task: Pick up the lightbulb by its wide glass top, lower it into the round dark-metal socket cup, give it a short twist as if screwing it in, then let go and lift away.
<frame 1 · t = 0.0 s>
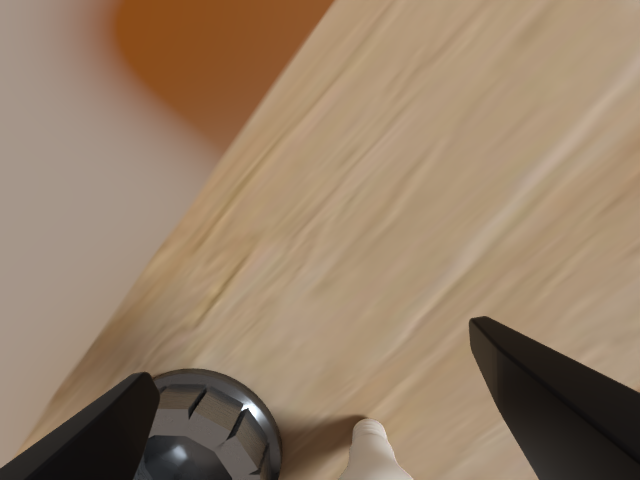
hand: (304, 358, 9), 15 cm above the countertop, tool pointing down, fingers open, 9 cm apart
lightbulb: (367, 424, 26), on the countertop
socket: (199, 447, 27), on the countertop
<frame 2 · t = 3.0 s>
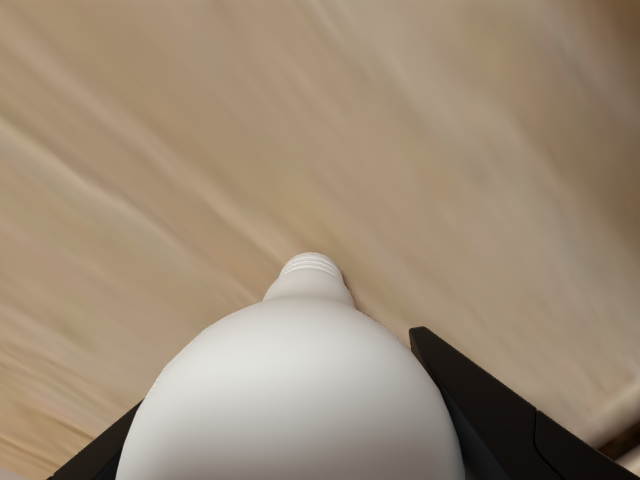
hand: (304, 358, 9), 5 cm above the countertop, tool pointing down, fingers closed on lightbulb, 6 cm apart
lightbulb: (312, 269, 14), on the countertop, touching gripper
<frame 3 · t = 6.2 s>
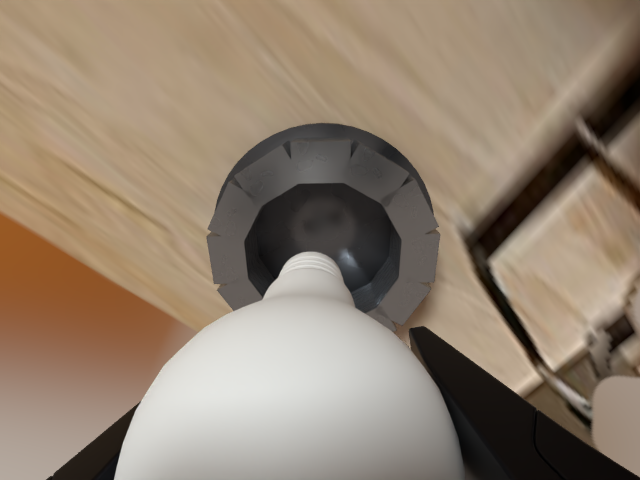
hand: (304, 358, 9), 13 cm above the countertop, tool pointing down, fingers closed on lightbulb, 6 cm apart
lightbulb: (312, 268, 14), point 8 cm above the countertop, touching gripper
socket: (323, 234, 21), on the countertop
when the fingers open (7 cm above the countertop, at t = 9.3 s): lightbulb stays where it is, resting on socket.
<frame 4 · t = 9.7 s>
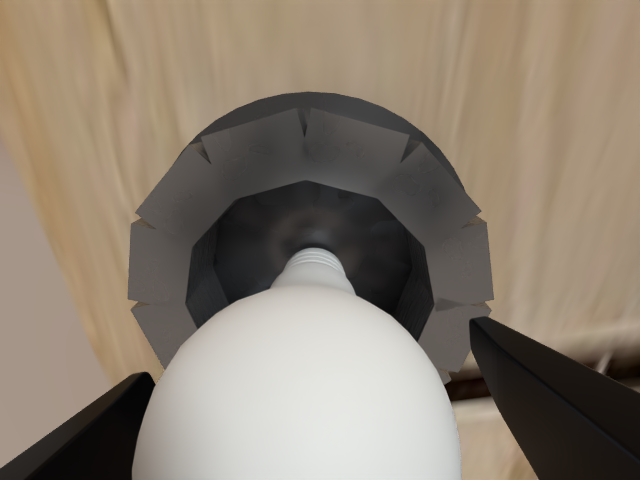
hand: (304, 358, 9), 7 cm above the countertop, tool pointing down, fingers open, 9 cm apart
lightbulb: (314, 265, 14), point 1 cm above the countertop, touching socket
socket: (313, 257, 15), on the countertop
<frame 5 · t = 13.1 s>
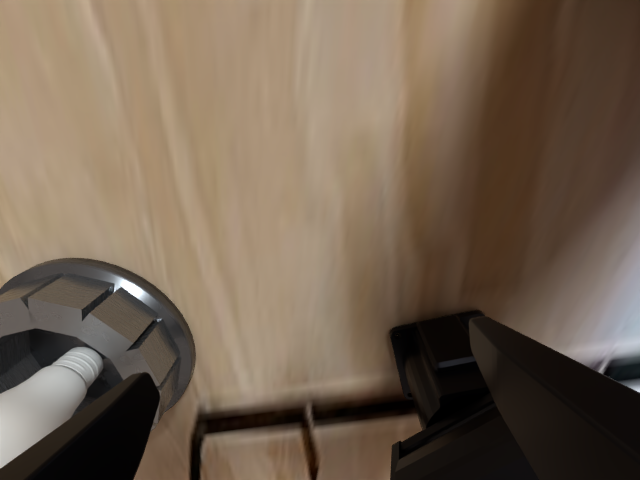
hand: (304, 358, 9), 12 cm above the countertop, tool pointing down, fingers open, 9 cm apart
lightbulb: (94, 351, 23), point 1 cm above the countertop, touching socket
socket: (100, 344, 24), on the countertop
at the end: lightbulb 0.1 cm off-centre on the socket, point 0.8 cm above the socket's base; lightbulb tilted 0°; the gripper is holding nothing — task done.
